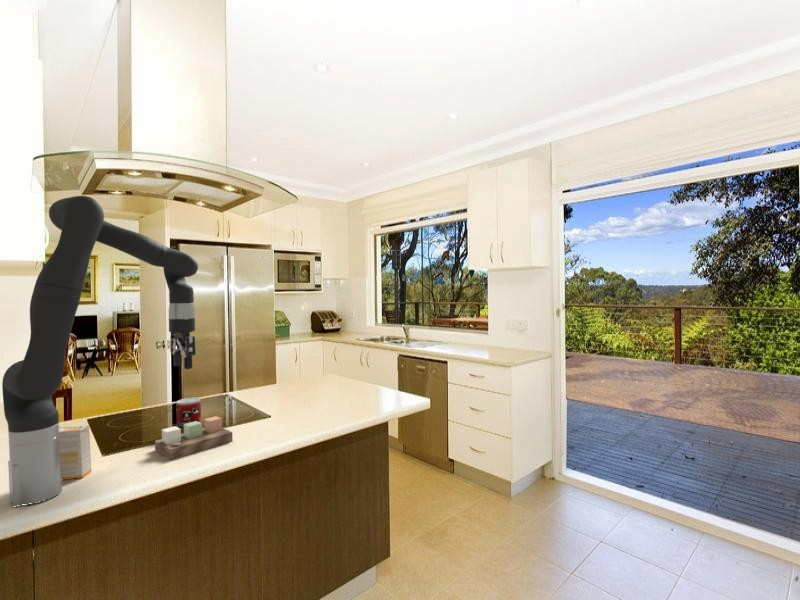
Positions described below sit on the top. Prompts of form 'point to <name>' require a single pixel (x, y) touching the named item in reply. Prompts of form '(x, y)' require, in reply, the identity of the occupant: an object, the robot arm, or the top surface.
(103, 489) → the top surface
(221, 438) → the button box
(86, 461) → the supplement box
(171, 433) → the off-white button
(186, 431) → the sage green button
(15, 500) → the robot arm
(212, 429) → the pink cube
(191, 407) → the canned food
